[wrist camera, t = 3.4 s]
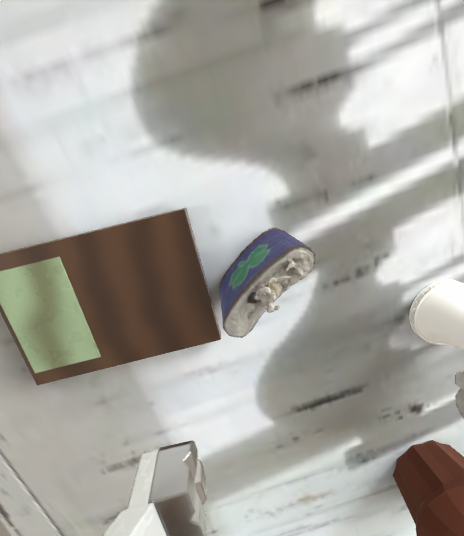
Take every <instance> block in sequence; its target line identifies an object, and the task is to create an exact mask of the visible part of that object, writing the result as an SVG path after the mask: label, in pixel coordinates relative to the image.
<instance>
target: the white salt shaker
mask: <svg viewBox="0 0 464 536" xmlns="http://www.w3.org/2000/svg"><path fill="white" fill-rule="evenodd" d="M409 321H410V325H411V327H412V329H413V331H414V332H415V333H416V334H417V335H418V336H419V337H421V338H422V339H424V340H425V341H427V342H429V343H432V344H439V345H440V344H447V345H451V346H454V347H457V348H459V349H462V350H464V283H461V282H459V281H455V280H441V281H437V282H434V283H432V284H430V285H429V286H427V287H426V288H424V289H423V290H422V291H421V292H420V293H419V294H418V295H417V297H416V298H415V299H414V301H413V303H412V306H411V308H410V313H409Z"/></svg>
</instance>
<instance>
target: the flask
mask: <svg viewBox="0 0 464 536" xmlns="http://www.w3.org/2000/svg"><path fill="white" fill-rule="evenodd" d="M314 263H315V253H314V252H313V251H312V250H311V248H310V247H308V246H306V245H305V244H303V243H302V242H300V241H299V240H297V239H295V238H294V237H292V236H291V235H289V234H288V233H286V232H285V231H282V230H280V229H277V228H272V229H269V230H268V231H266V232H264V233H262V234H261V235H260V236H259V237H258V238H256V239H255V240H253V242H252V243H250V244H249V245H248V246H247V247H246V249H245V250H243V251H242V252H241V254H240V256H239V257H238V258H237V259H236V261H235V262H234V263H233V265H232V266H231V268H230V269H229V270H228V271H227V272H226V274H225V275H224V277H223V279H222V281H221V283H220V287H219V293H220V298H221V308H222V317H223V328H224V330H225V332H226V333H227V334H228V335H229V336H233V337H241V338H242V337H244V336H245V335H247V334H248V333H249V332H250V331H251V330H252V329H253V327H254V326H255V324H256V323H257V321H258V320H259V318H260V317H261V315H262V314H263V313H264V312H265V311H266V310H267V312H273V311H275V310H279V308H280V306H279V305H278V306H274V305H273V302H274V301H275V300H276V299H277V298H278V297H280V295H281V294H282V293H283V292H284V291H286V290H287V289H288V288H289V287H290V286H292V285H293V284H295V283H296V282H298V281H299V280H301V279H303V278H305V277H306V276H307V275H308V274H309V273H310V272H311V271H312V269H313V267H314Z"/></svg>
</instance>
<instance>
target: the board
mask: <svg viewBox="0 0 464 536" xmlns="http://www.w3.org/2000/svg"><path fill="white" fill-rule="evenodd" d="M0 312H1V314H2V316H3V318H4V320H5V322H6V324H7V326H8V328H9V330H10V332H11V334H12V336H13V338H14V340H15V342H16V344H17V346H18V348H19V350H20V352H21V354H22V356H23V358H24V360H25V362H26V364H27V366H28V368H29V370H30V372H31V374H32V376H33V378H34V380H35V382H36V384H37V385H41V384H45V383H49V382H53V381H57V380H61V379H65V378H69V377H73V376H77V375H81V374H85V373H89V372H93V371H97V370H101V369H105V368H109V367H113V366H117V365H121V364H125V363H129V362H133V361H137V360H141V359H145V358H149V357H153V356H157V355H161V354H165V353H169V352H173V351H177V350H181V349H185V348H189V347H193V346H197V345H201V344H205V343H209V342H213V341H217V340H220V339H221V333H220V329H219V325H218V322H217V318H216V315H215V311H214V307H213V304H212V300H211V297H210V293H209V289H208V286H207V282H206V278H205V275H204V271H203V268H202V264H201V260H200V257H199V253H198V250H197V246H196V242H195V239H194V235H193V231H192V228H191V224H190V221H189V217H188V213H187V210H186V208H183V209H179V210H175V211H171V212H167V213H163V214H159V215H154V216H150V217H146V218H142V219H138V220H134V221H130V222H126V223H122V224H118V225H114V226H110V227H106V228H102V229H98V230H94V231H90V232H86V233H82V234H78V235H74V236H70V237H65V238H61V239H57V240H53V241H49V242H45V243H41V244H37V245H33V246H29V247H25V248H21V249H17V250H13V251H9V252H5V253H1V254H0Z"/></svg>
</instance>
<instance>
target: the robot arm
mask: <svg viewBox="0 0 464 536" xmlns="http://www.w3.org/2000/svg"><path fill="white" fill-rule="evenodd" d="M455 384H456V385H457V386H458V387H459V388H460V389H459V391H458V392H457V394H456V406H457V408H458V410H459V412H460V414H461V416H462V417H463V418H464V370H463V371H459V372H457V374H456V375H455ZM206 499H207V488H206V478H205V473H204V468H203V465H202V462H201V461H200V460H198V459H197V447H196V445H195V442H194V441H188V442H183V443H179V444H175V445H170V446H166V447H161V448H159V449H155V450H150V451H146V452H143V454H142V455H141V457H140V461H139V465H138V469H137V473H136V476H135V480H134V484H133V488H132V492H131V496H130V500H129V503H128V507H127V509H126V510H123V511H121V512H120V514H119V515H118V516H117V518H116V519H115V520H114V521H113V523H112V524H111V525H110V527H109V528H108V529H107V530H106V532H105V533H104V534H103V536H206V520H207V516H206V513H205V510H204V507H203V504H204V503H205V501H206Z"/></svg>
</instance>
